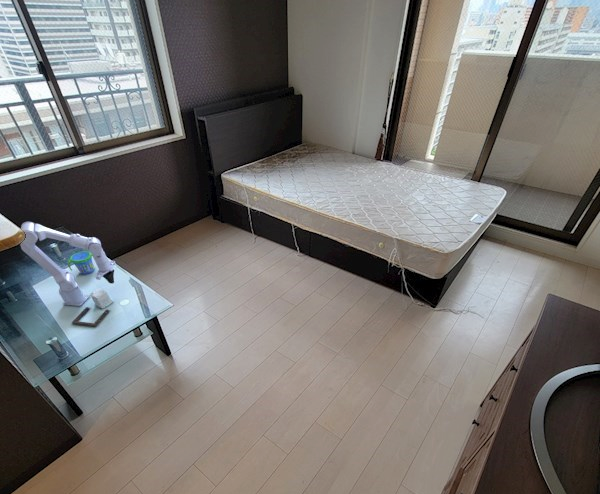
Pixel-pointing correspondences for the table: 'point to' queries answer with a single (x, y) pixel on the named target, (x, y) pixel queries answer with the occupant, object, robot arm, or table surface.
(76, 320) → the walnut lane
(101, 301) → the white cardboard box
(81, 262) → the snack cup
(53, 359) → the table surface
